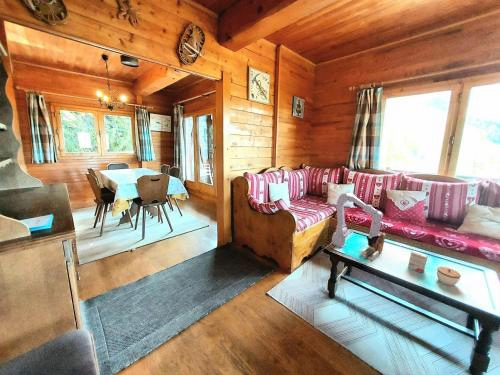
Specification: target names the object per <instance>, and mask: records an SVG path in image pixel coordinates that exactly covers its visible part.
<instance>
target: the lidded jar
mask: <svg viewBox="0 0 500 375" xmlns="http://www.w3.org/2000/svg"><path fill="white" fill-rule="evenodd" d="M436 276H437V279H438V280H439V282H440V283H441V284H444V285H446V286H449V287H450V286H451V285H452V286H454V285H456V284H457V283H459V281H460V279H461V276H462V275H461V274H460V272H458V271H456V270H455V269H453V268H449V267H446V266H438V267H437V271H436Z"/></svg>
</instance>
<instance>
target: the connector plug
mask: <svg viewBox="0 0 500 375" xmlns="http://www.w3.org/2000/svg"><path fill="white" fill-rule="evenodd" d="M368 247H369V246H368ZM375 252H376V251H375V249H374V248H373V247H369V248H367V254H366V255H368V256H367V257H365V258H366V259H369V258H368V257H369V256H370V257H372V256H373V254H374V253H375Z"/></svg>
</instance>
